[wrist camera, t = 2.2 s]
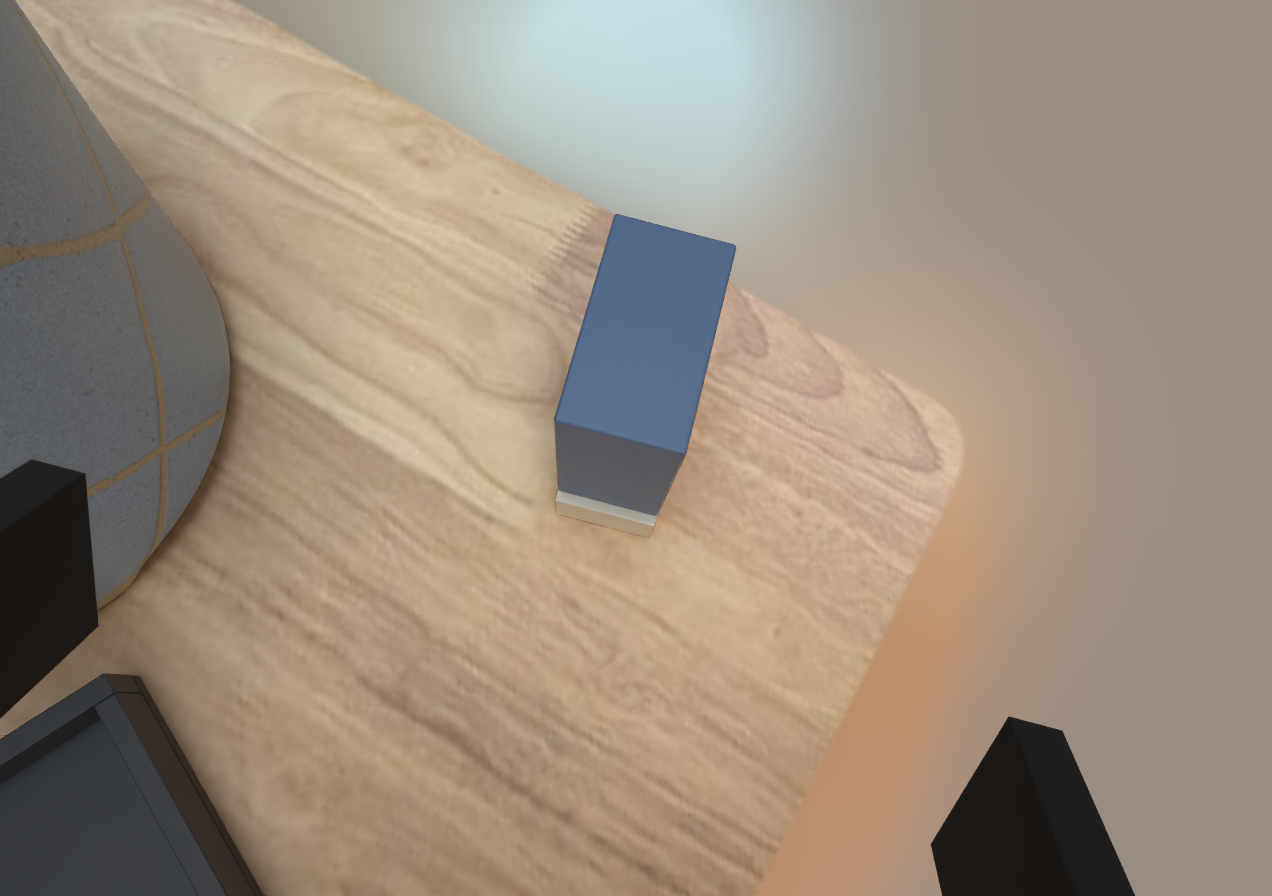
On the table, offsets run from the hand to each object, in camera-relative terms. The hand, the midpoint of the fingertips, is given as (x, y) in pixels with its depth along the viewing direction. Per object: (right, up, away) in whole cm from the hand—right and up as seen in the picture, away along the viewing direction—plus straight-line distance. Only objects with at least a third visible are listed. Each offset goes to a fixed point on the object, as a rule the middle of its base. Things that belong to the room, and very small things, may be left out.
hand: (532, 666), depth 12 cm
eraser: (+1, +4, +24) cm, 25 cm away
